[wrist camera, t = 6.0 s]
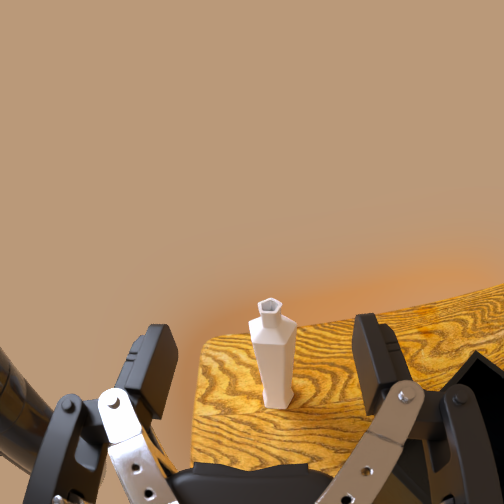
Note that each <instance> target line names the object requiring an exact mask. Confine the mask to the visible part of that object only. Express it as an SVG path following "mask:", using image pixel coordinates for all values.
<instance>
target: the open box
mask: <svg viewBox="0 0 504 504" xmlns="http://www.w3.org/2000/svg"><path fill="white" fill-rule="evenodd" d="M455 384H463V385H466V386H468V387H469V388H470V389H471V390H472V391H473V392H474V394H475V397H476V400H477V403H478V406H479V408H480V411H481V414H482V417H483V421H484V424H485V427H486V430H487V434H488V437H489V440H490V444H491V448H492V452H493V455H494V459H495V464H496V468H497V472H498V477H499V482H500V487H501V493H502V498H503V504H504V371H503V370H501V369H500V368H499V367H497V366H496V365H495V364H493V363H492V362H491V361H489V360H488V359H487V358H486V357H484V356H483V355H481V354H480V353H479V352H477V351H476V350H475V352H474V353H473V354H472V355H471V356H470V358H469V359H468V360H467V361H466V362H465V364H464V365H463V366H462V367H461V368H460V369H459V371H458V372H457V373H456V374H455V375H454V376H453V377H452V378H451V379H450V381H449V382H448V383H447V384H446V385H445V386H444V387H443V388H442V389H441V390H440V391H439V392H446V390H447V389H448V388H449V387H450V386H452V385H455ZM372 504H432V501H431V492H430V485H429V478H428V471H427V465H426V459H425V453H424V448H423V442H422V440H420V439H406V441H405V443H404V448H403V451H402V453H401V455H400V457H399V459H398V460H397V462H396V464H395V466H394V468H393V469H392V471H391V473H390V475H389V476H388V478H387V480H386V482H385V483H384V485H383V487H382V488H381V490H380V491H379V493H378V495H377V496H376V498H375V499H374V501H373V502H372Z"/></svg>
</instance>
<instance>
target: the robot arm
mask: <svg viewBox="0 0 504 504" xmlns="http://www.w3.org/2000/svg"><path fill="white" fill-rule="evenodd" d="M352 352H353V357H354V361H355V365H356V369H357V374H358V378H359V382H360V387H361V391H362V396H363V401H364V406H365V410H366V415H367V416H370V415H374V416H375V418H374V420H373V422H372V423H371V425H370V427H369V428H368V430H367V431H366V432H365V433H364V435H363V436H362V438H361V440H360V441H359V443H358V444H357V446H356V447H355V449H354V450H353V452H352V453H351V455H350V456H349V458H348V459H347V461H346V462H345V464H344V465H343V466H342V468H341V469H340V471H339V472H338V473H337V475H336V476H335V478H333V477H332V476H330V475H328V474H326V473H323V472H321V471H317V470H312V469H308V463H304V464H288V465H277V466H273V467H268V468H264V469H260V470H255V471H244V470H240V469H237V468H233V467H229V466H226V465H222V464H213V463H201V462H194V466H193V468H190V469H185V470H182V471H179V472H178V471H177V469H176V468H175V466H174V465H173V464H172V462H171V461H170V460H169V458H168V456H167V455H166V453H165V451H164V449H163V447H162V446H161V444H160V442H159V440H158V438H157V436H156V434H155V432H154V430H153V428H152V427H151V422H152V419H159V420H161V418H162V415H163V411H164V407H165V404H166V400H167V396H168V393H169V389H170V386H171V382H172V379H173V375H174V372H175V368H176V365H177V361H178V349H177V346H176V343H175V341H174V338H173V336H172V333H171V331H170V328H169V326H168V325H167V324H151V325H150V326H149V327H148V330H147V332H146V334H145V335H141V336H140V337H139V338H138V339H137V340H136V341H135V342H134V343H133V345H132V347H131V349H130V351H129V354H128V356H127V358H126V361H125V363H124V366H123V367H122V370H121V372H120V375H119V377H118V379H117V382H116V384H115V386H114V388H112V389H109V390H107V391H105V392H104V393H103V394H102V395H101V396H100V398H99V399H94V400H87V401H82V400H81V399H80V397H79V396H77V395H75V394H67V395H65V396H63V397H62V398H61V399H60V400H59V401H58V403H57V405H56V408H55V410H54V411H53V410H52V409H51V408H50V407H49V406H48V405H47V403H46V402H45V401H44V400H43V399H42V398H41V397H40V396H39V395H38V394H37V392H36V391H35V390H34V389H33V388H32V387H31V385H30V384H29V383H28V382H27V381H26V380H25V378H24V377H23V376H22V375H21V374H20V372H19V371H18V370H17V368H16V367H15V366H14V365H13V363H12V362H11V361H10V359H9V358H8V357H7V355H6V354H5V352H4V351H3V350H2V348H1V347H0V456H3V457H4V458H6V459H7V460H8V461H10V462H11V463H12V464H14V465H15V466H17V467H18V468H20V469H21V470H23V471H24V472H26V473H27V474H29V475H30V479H29V483H28V486H27V490H26V493H25V497H24V500H23V504H95V503H96V499H97V494H98V489H99V485H100V481H101V476H102V472H103V468H104V464H105V460H106V456H107V452H109V455H110V458H111V460H112V463H113V465H114V468H115V470H116V473H117V475H118V477H119V480H120V482H121V484H122V486H123V489H124V491H125V493H126V495H127V497H128V500H129V502H130V504H372V502H373V501H374V499H375V498H376V496H377V495H378V493H379V491H380V490H381V488H382V487H383V485H384V483H385V482H386V480H387V478H388V476H389V475H390V473H391V471H392V469H393V468H394V466H395V464H396V462H397V460H398V459H399V457H400V455H401V453H402V451H403V448H404V443H405V441H406V439H420V440H422V442H423V448H424V453H425V459H426V465H427V471H428V478H429V485H430V492H431V501H432V504H503V498H502V493H501V487H500V482H499V477H498V472H497V468H496V464H495V459H494V455H493V452H492V448H491V444H490V440H489V437H488V434H487V430H486V427H485V424H484V421H483V417H482V414H481V411H480V408H479V406H478V403H477V400H476V397H475V394H474V392H473V391H472V390H471V389H470V388H469V387H468V386H466V385H463V384H455V385H452V386H450V387H449V388H448V389H447V390H446V392H438V391H427V390H424V389H422V387H421V386H420V385H419V384H417V383H416V382H414V381H413V380H412V377H411V375H410V372H409V369H408V366H407V364H406V361H405V358H404V356H403V353H402V351H401V348H400V345H399V343H398V340H397V338H396V335H395V333H394V331H393V330H392V329H391V328H390V327H389V326H388V325H387V324H378V322H377V319H376V316H375V314H374V313H368V314H359V315H356V317H355V323H354V330H353V336H352Z"/></svg>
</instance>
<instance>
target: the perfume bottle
mask: <svg viewBox="0 0 504 504" xmlns="http://www.w3.org/2000/svg"><path fill="white" fill-rule="evenodd" d="M281 306H282V303H281V302H279V301H277V300H275V299H273V298H269V299H266V300H263V301H261V302H259V303H258V308H259V312H260V314H261V317H259V318H256V319H253V320H251V321H249V328H250V334H251V340H252V344H253V348H254V352H255V356H256V359H257V363H258V367H259V371H260V375H261V379H262V382H263V386H264V390H263V398H264V403H265V407H266V408H274V409H286V408H287V407H288V405H289V403H290V402H291V400H292V398H293V396H294V393H293V391H292V389H291V382H292V373H293V363H294V353H295V342H296V330H297V323H296V322H294V321H292V320H291V319H289V318H287V317H285V316H284V315H282V314H281Z"/></svg>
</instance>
